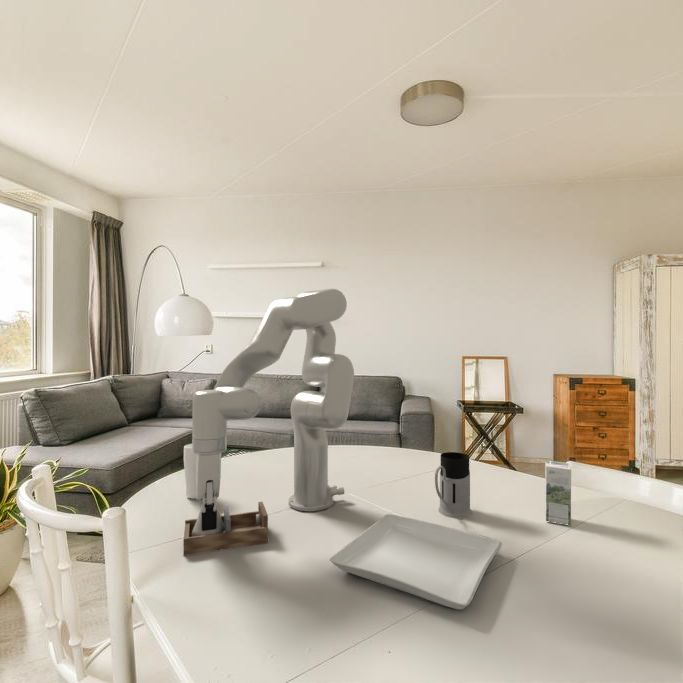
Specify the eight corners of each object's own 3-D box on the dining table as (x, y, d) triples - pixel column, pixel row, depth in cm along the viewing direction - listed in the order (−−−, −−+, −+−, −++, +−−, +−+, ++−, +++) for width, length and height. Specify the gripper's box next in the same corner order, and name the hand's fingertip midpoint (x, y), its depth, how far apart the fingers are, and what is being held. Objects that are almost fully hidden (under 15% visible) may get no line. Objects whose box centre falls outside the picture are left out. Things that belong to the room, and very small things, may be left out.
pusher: (228, 525, 102) (228, 505, 102) (230, 540, 94) (230, 519, 94) (224, 525, 102) (224, 506, 102) (225, 541, 94) (225, 520, 94)
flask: (230, 527, 99) (231, 484, 100) (215, 541, 92) (216, 495, 93) (201, 524, 101) (203, 482, 101) (185, 537, 94) (186, 492, 94)
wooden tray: (262, 524, 106) (262, 500, 106) (268, 543, 96) (268, 516, 96) (185, 534, 100) (185, 509, 100) (183, 555, 90) (183, 527, 90)
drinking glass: (178, 498, 123) (178, 447, 123) (194, 491, 130) (194, 441, 130) (197, 501, 121) (197, 449, 121) (212, 493, 127) (212, 443, 127)
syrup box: (569, 518, 109) (569, 462, 110) (571, 527, 104) (571, 468, 104) (545, 514, 112) (545, 459, 112) (545, 523, 107) (545, 465, 107)
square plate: (467, 628, 68) (467, 604, 68) (326, 577, 82) (326, 557, 82) (503, 556, 91) (503, 537, 91) (387, 526, 105) (387, 510, 105)
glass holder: (477, 511, 114) (477, 455, 114) (451, 527, 104) (451, 466, 104) (448, 502, 120) (448, 449, 120) (421, 517, 110) (420, 459, 110)
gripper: (192, 437, 104) (192, 512, 104) (191, 455, 88) (190, 543, 87) (224, 435, 106) (224, 508, 106) (228, 452, 90) (228, 538, 90)
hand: (208, 523), depth 97 cm, fingers closed on flask, 5 cm apart
